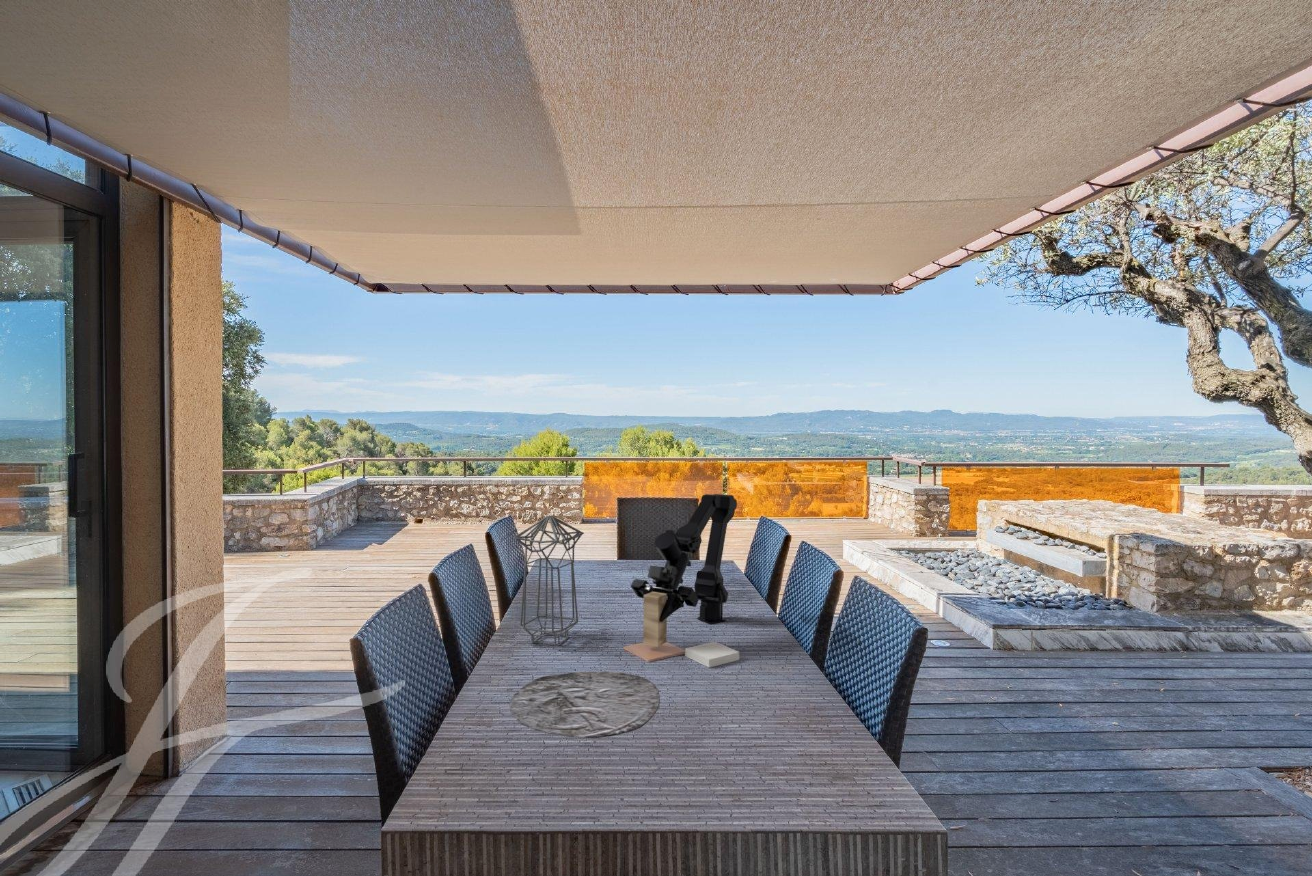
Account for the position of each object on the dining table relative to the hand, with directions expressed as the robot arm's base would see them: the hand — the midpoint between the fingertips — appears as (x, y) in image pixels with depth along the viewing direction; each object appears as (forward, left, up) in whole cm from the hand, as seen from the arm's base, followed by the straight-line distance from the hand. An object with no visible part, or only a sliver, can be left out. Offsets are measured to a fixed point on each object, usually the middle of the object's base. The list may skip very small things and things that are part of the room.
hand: (652, 619), depth 180 cm
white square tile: (-10, +12, -9) cm, 18 cm away
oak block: (-1, -1, -7) cm, 7 cm away
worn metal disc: (+29, +18, -9) cm, 36 cm away
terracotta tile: (-1, 0, -9) cm, 9 cm away
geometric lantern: (+19, -24, -9) cm, 32 cm away
